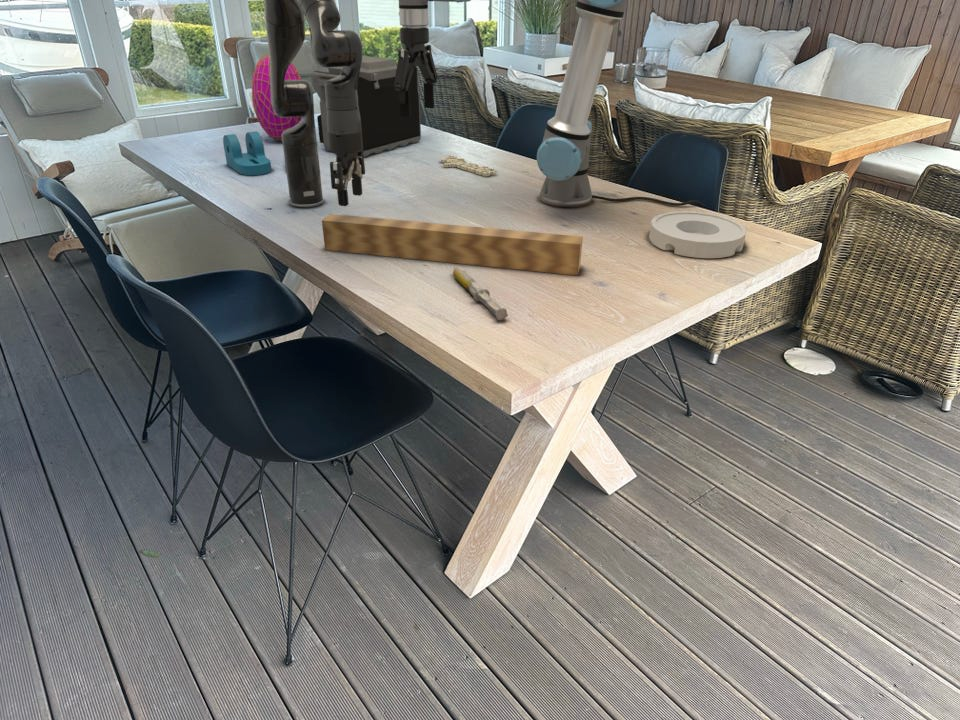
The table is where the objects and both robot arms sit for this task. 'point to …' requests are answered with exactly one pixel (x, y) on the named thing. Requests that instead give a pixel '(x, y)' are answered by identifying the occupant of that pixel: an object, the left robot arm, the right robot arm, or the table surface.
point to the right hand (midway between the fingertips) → (417, 112)
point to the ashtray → (697, 234)
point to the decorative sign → (467, 166)
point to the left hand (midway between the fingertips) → (350, 200)
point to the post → (454, 243)
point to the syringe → (479, 293)
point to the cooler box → (375, 106)
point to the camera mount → (246, 154)
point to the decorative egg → (263, 99)
